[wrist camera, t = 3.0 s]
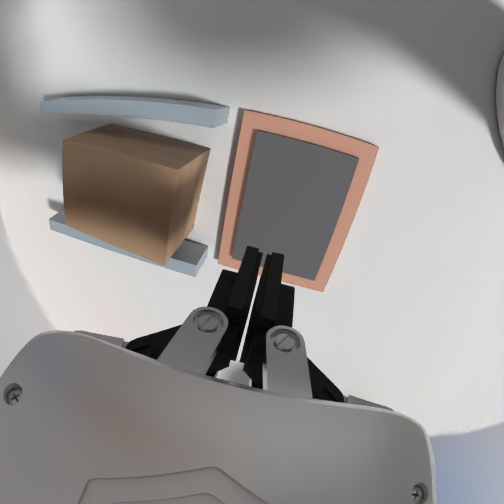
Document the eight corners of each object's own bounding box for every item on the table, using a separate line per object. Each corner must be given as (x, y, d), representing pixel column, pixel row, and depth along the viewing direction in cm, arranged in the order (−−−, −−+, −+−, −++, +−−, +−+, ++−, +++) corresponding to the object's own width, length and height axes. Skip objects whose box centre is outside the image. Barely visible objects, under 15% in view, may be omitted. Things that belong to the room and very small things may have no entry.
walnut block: (110, 124, 17) (63, 140, 13) (211, 148, 17) (178, 169, 13) (105, 196, 21) (65, 225, 16) (194, 226, 20) (164, 265, 16)
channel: (63, 96, 16) (40, 101, 14) (229, 106, 15) (216, 109, 13) (68, 216, 22) (50, 229, 20) (206, 257, 21) (195, 276, 19)
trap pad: (245, 109, 15) (243, 110, 15) (377, 146, 15) (380, 148, 14) (219, 260, 21) (216, 266, 21) (323, 288, 21) (323, 294, 20)
